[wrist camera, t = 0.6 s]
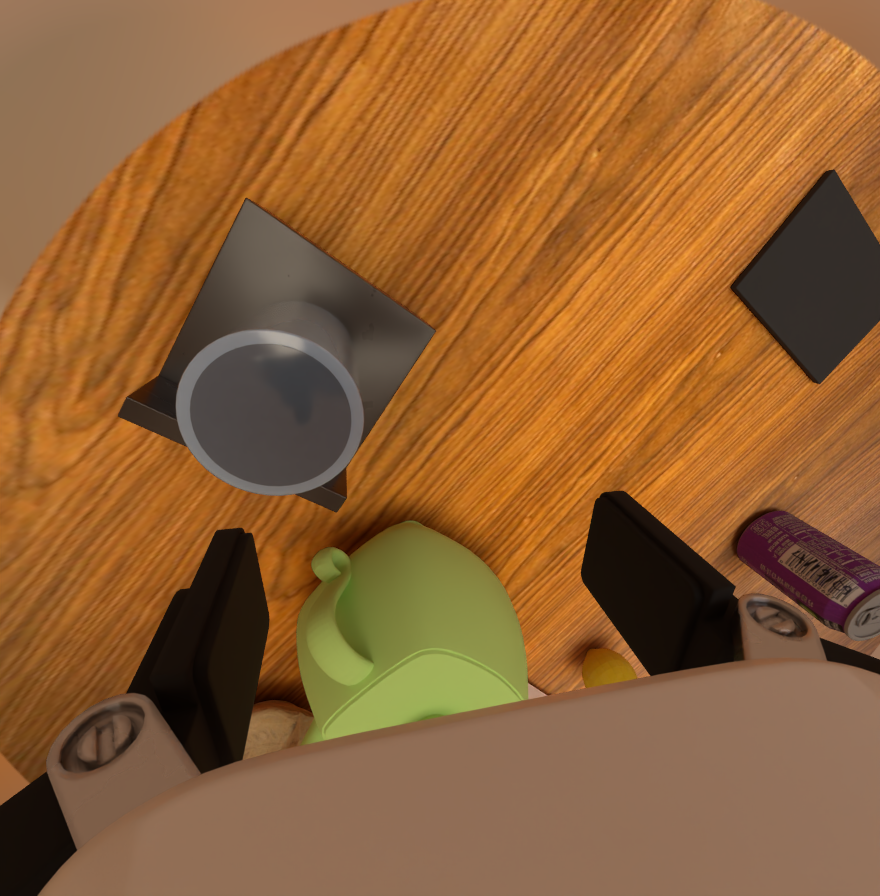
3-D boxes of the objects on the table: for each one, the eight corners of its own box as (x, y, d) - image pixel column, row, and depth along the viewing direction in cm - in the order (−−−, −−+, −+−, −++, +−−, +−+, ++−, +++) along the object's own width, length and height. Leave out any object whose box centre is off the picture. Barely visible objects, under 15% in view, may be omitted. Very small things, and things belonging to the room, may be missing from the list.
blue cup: (215, 378, 25) (143, 450, 16) (270, 274, 23) (225, 288, 14) (322, 432, 27) (311, 521, 18) (378, 343, 26) (396, 392, 17)
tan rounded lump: (176, 757, 43) (143, 856, 36) (252, 662, 40) (233, 750, 33) (274, 777, 48) (262, 869, 41) (350, 693, 45) (351, 776, 38)
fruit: (621, 639, 50) (667, 702, 43) (592, 670, 52) (632, 737, 45) (589, 627, 48) (632, 691, 41) (560, 660, 50) (596, 728, 43)
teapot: (207, 615, 37) (124, 838, 23) (389, 456, 34) (421, 599, 20) (399, 717, 48) (422, 911, 34) (548, 604, 45) (640, 763, 31)
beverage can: (728, 567, 49) (836, 654, 38) (734, 518, 46) (853, 599, 35) (782, 547, 49) (903, 629, 39) (792, 498, 46) (926, 572, 36)
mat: (729, 287, 34) (735, 288, 34) (826, 170, 32) (834, 168, 31) (813, 382, 40) (819, 384, 40) (900, 290, 38) (908, 290, 37)
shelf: (178, 371, 28) (116, 416, 21) (261, 206, 26) (226, 186, 18) (338, 451, 33) (337, 513, 25) (423, 319, 30) (451, 343, 23)
